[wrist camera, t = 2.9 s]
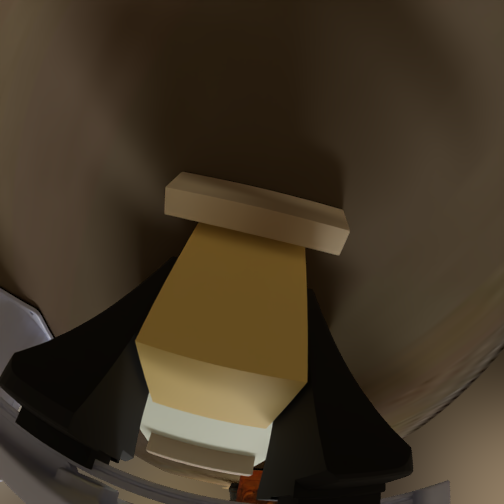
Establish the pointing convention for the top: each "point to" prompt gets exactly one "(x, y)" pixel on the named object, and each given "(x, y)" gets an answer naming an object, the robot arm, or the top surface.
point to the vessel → (250, 489)
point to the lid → (203, 440)
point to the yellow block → (229, 328)
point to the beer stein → (233, 491)
